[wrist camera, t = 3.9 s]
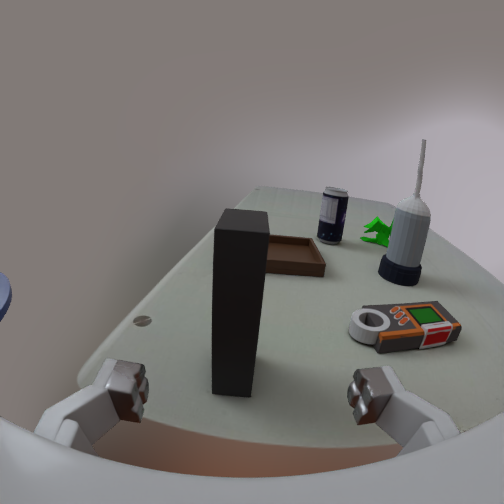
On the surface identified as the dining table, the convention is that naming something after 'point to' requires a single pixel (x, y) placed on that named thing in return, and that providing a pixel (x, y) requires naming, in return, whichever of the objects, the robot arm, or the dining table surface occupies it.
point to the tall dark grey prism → (237, 298)
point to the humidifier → (407, 237)
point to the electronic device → (404, 326)
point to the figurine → (382, 232)
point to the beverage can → (332, 215)
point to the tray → (294, 256)
